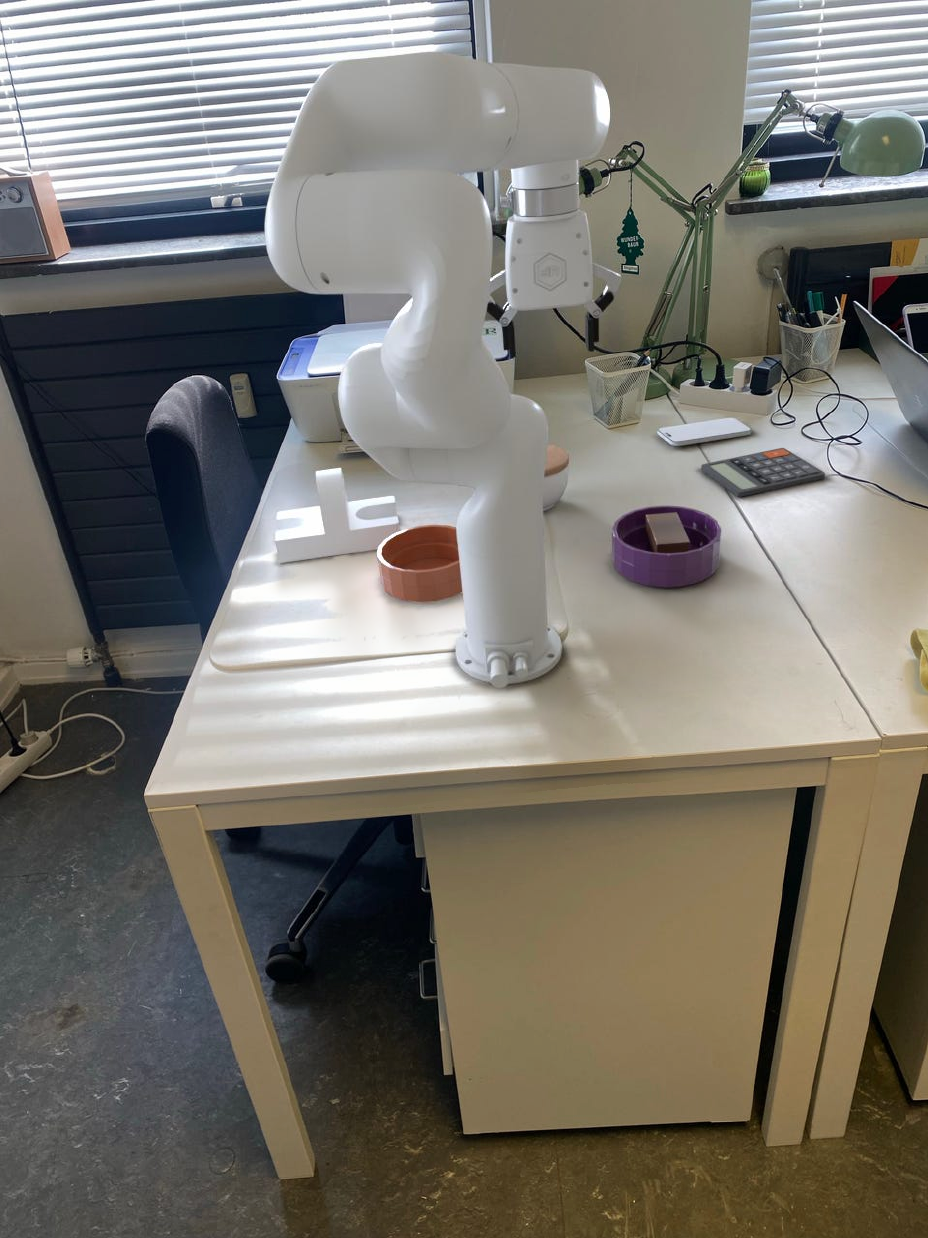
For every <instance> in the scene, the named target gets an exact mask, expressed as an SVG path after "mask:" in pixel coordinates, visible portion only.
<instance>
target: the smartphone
mask: <svg viewBox="0 0 928 1238" xmlns="http://www.w3.org/2000/svg"><path fill="white" fill-rule="evenodd" d="M656 431H657V435H658V436H659V437H660V438H662V439H663V440H664V441H666V442H667V443H668V444H669V445H671V446H673V447H680V446H681V447H682V446H687V445H693V444H699V443H700V444H701V443H706V442H713V441H720V440H725V439H731V438H737V437H738V438H739V437H746V436H750V435H751V434H752V428H751V427H749V426H748V425H747V424H744V423H743V422H741V421H740V420H739V419H737V418H735V417H730V416H729V417H723V418H715V419H709V420H703V421H695V422H690V423H683V424H677V425H676V424H675V425H669V426H663V427H659V428H657V430H656Z"/></svg>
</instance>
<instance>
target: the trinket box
mask: <svg viewBox="0 0 928 1238" xmlns="http://www.w3.org/2000/svg"><path fill="white" fill-rule="evenodd" d="M569 463H570V455H569V453H568V452H567V451H566V450H565V448H562V447H560V446H557V445H553V444H548V448H547V456H546V464H545V473H544V484H543V512H545V511H548V510H551V509H552V508H554V506H555V505H556V503H557V502H558V501H560V499H561V498H562V497H563V495H564V493H565V491H566V489H567V485H568V481H569Z"/></svg>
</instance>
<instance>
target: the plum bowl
mask: <svg viewBox="0 0 928 1238" xmlns="http://www.w3.org/2000/svg"><path fill="white" fill-rule="evenodd" d="M675 512H676V513H677V515H678V517H679V519H680V521H681V523H682V526H683V528H684V530H685V532H686V534H687V537H688V539H689V541H690V551H687V552H681V553H655V552H649V551H648V548H647V532H646V530H645V524H646V515H649V514H662V513H675ZM722 531H723V529H722V527H721V525H720V523H719V521H718V520H717V519H715V518H714V517H713V516H711V515H710V514H708V513H706V512H704V511H702V510H698V509H696V508H691V507H685V506H682V505H653V506H646V507H642V508H637V509H634V510H631V511H629V512H627V513H624V514H623V515H621V516H620V517H619V518H618V519H617V520H615V521H614V524H613V525H612V529H611V561H612V565H613V569H615V570H616V571H617V573H619V574H620V575H621V576H622V577H624V578H627V579H628V580H630V581H632V582H634V583H638V584H641V585H645V586H649V587H654V588H655V587H656V588H679V587H685V586H689V585H693V584H696V583H700V582H701V581H704V580H706V579H707V578H709V577H711V576H712V575H713V574H714V573H715V572H717V569H719V564H720V556H721V544H722Z"/></svg>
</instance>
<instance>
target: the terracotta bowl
mask: <svg viewBox="0 0 928 1238" xmlns="http://www.w3.org/2000/svg"><path fill="white" fill-rule="evenodd" d="M376 551H377V552H376V559H377V565H378V571H379V577H380V578H379V579H380V582H381V586H382V588H383V590H384V591H385V592H386V593H387V594H389V595H390V596H391V597H394V598H395V599H399V600H402V601H406V602H407V601H408V602H417V603H426V602H437V601H441V600H446V599H450V598H453V597H454V596H457V595H459V594H461V593H463V591H462V581H461V572H460V562H459V552H458V543H457V534H456V526H451V525H446V524H445V525H444V524H427V525H425V524H424V525H417V526H413V527H409V528H406V529H403V530H400V532H397V533H395V534H393V535H391V536H390V537H388V538H387V539H385V540H384V541H383V542H382V543H381V545H380V546H379V547H378V550H376Z"/></svg>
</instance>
